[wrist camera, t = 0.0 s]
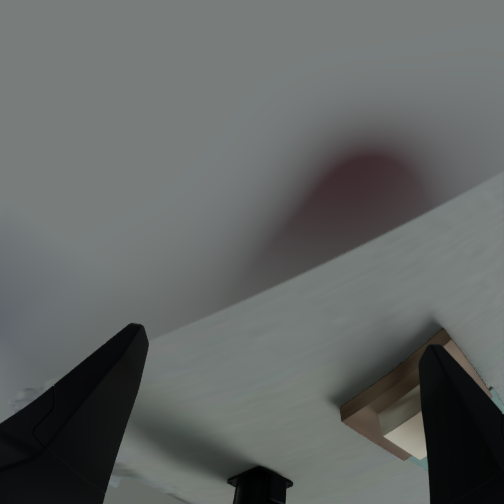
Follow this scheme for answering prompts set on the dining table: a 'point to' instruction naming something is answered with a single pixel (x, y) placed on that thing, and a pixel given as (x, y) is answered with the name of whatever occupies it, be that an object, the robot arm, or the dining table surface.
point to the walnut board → (397, 394)
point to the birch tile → (405, 424)
